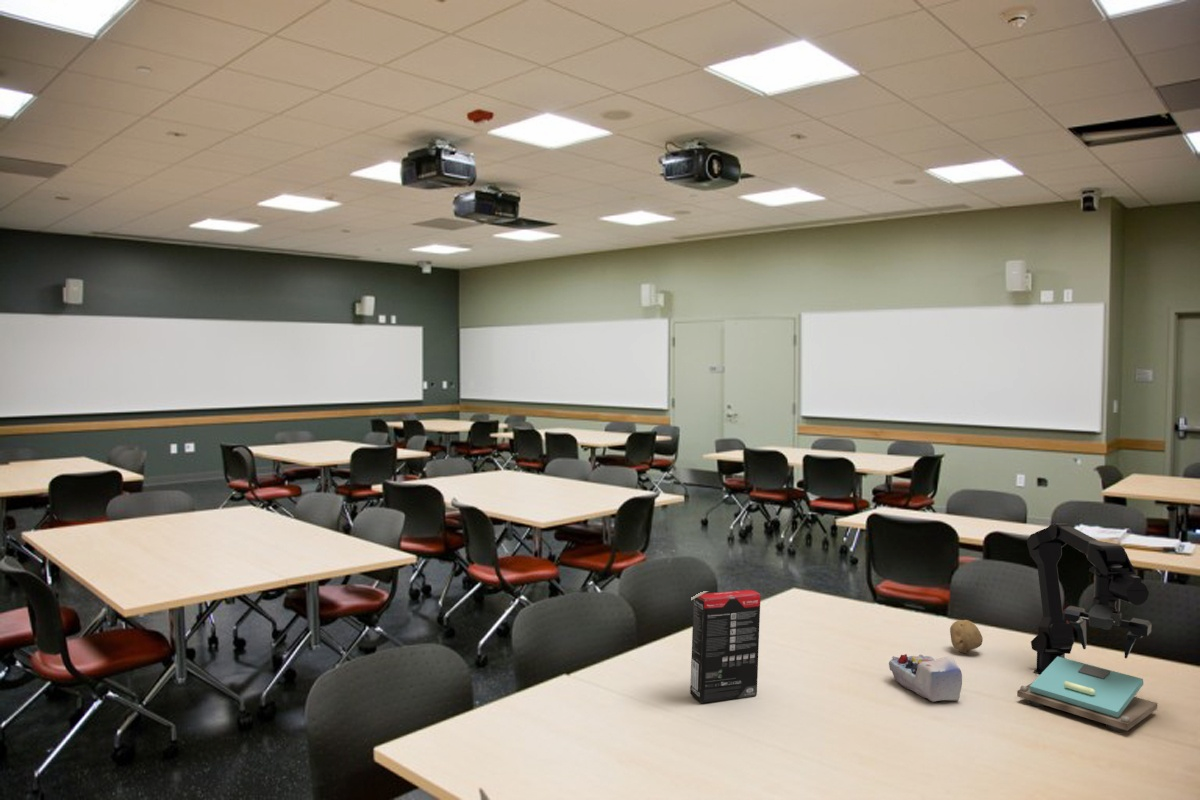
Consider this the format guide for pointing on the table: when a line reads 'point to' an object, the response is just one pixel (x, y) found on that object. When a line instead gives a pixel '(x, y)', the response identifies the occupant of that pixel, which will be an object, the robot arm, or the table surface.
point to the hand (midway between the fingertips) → (1104, 653)
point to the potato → (965, 636)
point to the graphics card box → (725, 645)
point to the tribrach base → (1125, 721)
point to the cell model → (928, 676)
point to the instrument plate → (1087, 686)
